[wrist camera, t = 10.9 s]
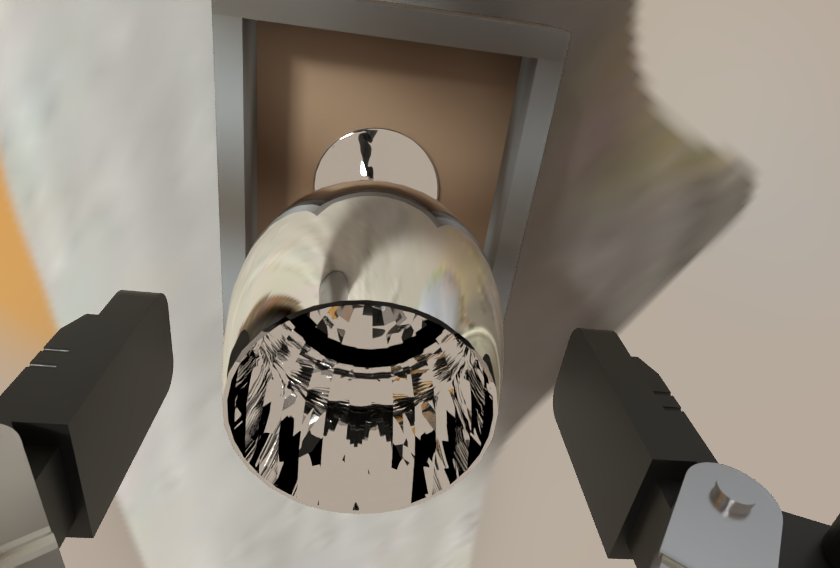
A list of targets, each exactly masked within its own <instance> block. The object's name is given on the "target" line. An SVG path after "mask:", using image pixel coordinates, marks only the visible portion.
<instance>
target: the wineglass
mask: <svg viewBox="0 0 840 568" xmlns="http://www.w3.org/2000/svg"><path fill="white" fill-rule="evenodd" d="M438 197H439V181H438V175H437V171H436V168H435V166H434V163H433V161H432V160H431V158H430V156H429V154H428V153H427V152H426V151H425V149H424V148H423V147H422V146H421V145H420V144H419V143H418V142H417V141H415V140H414V139H413V138H411V137H409V136H407V135H406V134H403V133H402V132H400V131H398V130H393V129H389V128H385V127H364V128H360V129H356V130H352V131H350V132H348V133H346V134H344V135H342V136H341V137H339V138H337V139H336V140H335V141H334V142H333V143H332V144H331V145H329V146H328V147H327V149H326V150H325V152H324V153H323V154H322V156H321V157H320V159H319V162H318V164H317V167H316V169H315V173H314V179H313V192H312V193H310V194H308V195H306V196H304V197H302V198H300V199H298V200H297V201H295V202H294V203H293V204H292V205H290V206H289V207H288V208H286V209H285V210H284V211H283V212H281V213H280V214H279V215H278V216H277V217H276V218H275V219H274V220H273V221H272V222H271V223H270V224H269V225H268V226H267V227H266V228H265V229H264V230H263V232H262V233H261V234H260V235H259V237H258V238H257V240H256V241H255V243H254V244H253V246H252V247H251V249H250V251H249V253H248V255H247V257H246V259H245V261H244V263H243V265H242V267H241V269H240V272H239V274H238V277H237V280H236V282H235V285H234V288H233V291H232V296H231V300H230V305H229V311H228V316H227V322H226V328H225V334H224V341H223V357H222V402H223V417H224V426H225V429H226V431H227V434H228V437H229V439H230V442H231V444H232V447H233V449H234V450H235V452H236V453H237V454H238V456H239V457H240V459H241V460H242V461H243V463H244V464H245V465H246V467H247V468H248V469H249V470H250V471H251V472H252V473H253V474H255V475H256V476H257V477H258V478H259V479H260V480H262V481H263V482H264V483H265V484H266V485H267V486H269V487H270V488H272V489H274V490H276V491H278V492H279V493H281V494H283V495H285V496H287V497H289V498H291V499H292V500H294V501H297V502H299V503H302V504H305V505H307V506H311V507H315V508H318V509H322V510H328V511H333V512H339V513H353V514H367V513H382V512H388V511H394V510H400V509H404V508H407V507H410V506H413V505H417V504H420V503H423V502H425V501H427V500H429V499H431V498H433V497H435V496H437V495H439V494H442V493H444V492H446V491H447V490H448V489H450V488H451V487H452V486H454V485H455V484H456V483H458V482H459V481H461V480H462V479H463V478H465V477H466V476H467V474H468V473H469V472H470V471H471V470H472V469H473V468H474V467H475V466H476V465H477V463H478V462H479V461H480V460H481V459H482V457H483V455H484V453H485V451H486V449H487V448H488V446H489V444H490V442H491V440H492V438H493V434H494V430H495V425H496V421H497V416H498V411H499V402H500V397H501V388H502V377H503V363H504V340H503V320H502V313H501V306H500V299H499V292H498V289H497V285H496V282H495V279H494V276H493V273H492V270H491V267H490V264H489V262H488V260H487V258H486V255H485V253H484V251H483V250H482V248H481V246H480V245H479V243H478V241H477V240H476V238H475V237H474V236H473V235H472V233H471V232H470V231H469V230H468V228H467V227H466V226H465V225H464V223H463V222H462V221H461V220H460V219H459V218H458V217H457V216H456V215H455V214H454V213H452V212H451V211H450V210H449V209H448V208H446V207H445V206H444V205H443V204H442V203H440V202H439V201H438Z"/></svg>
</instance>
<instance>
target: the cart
mask: <svg viewBox="0 0 840 568" xmlns="http://www.w3.org/2000/svg"><path fill="white" fill-rule="evenodd" d="M212 26H213V54H214V81H215V109H216V136H217V164H218V191H219V219H220V246H221V274H222V301H223V329H224V334H225V328H226V322H227V316H228V311H229V305H230V300H231V296H232V291H233V288H234V285H235V282H236V280H237V277H238V274H239V272H240V269H241V267H242V265H243V263H244V261H245V259H246V257H247V255H248V253H249V251H250V249H251V247H252V246H253V244H254V243H255V241H256V240H257V238H258V237H259V235H260V234H261V233H262V232H263V230H264V229H265V228H266V227H267V226H268V225H269V224H270V223H271V222H272V221H273V220H274V219H275V218H276V217H277V216H278V215H279V214H280V213H281V212H283V211H284V210H285V209H286V208H288V207H289V206H290V205H292V204H293V203H294V202H295V201H297V200H298V199H300V198H302V197H304V196H306V195H308V194H310V193H312V192H313V179H314V173H315V169H316V167H317V164H318V162H319V159H320V157H321V156H322V154H323V153H324V152H325V150H326V149H327V147H328V146H329V145H331V144H332V143H333V142H334V141H335V140H336V139H337V138H339V137H341V136H342V135H344V134H346V133H348V132H350V131H352V130H356V129H360V128H364V127H385V128H389V129H393V130H398V131H400V132H402V133H403V134H406V135H407V136H409V137H411V138H413V139H414V140H415V141H417V142H418V143H419V144H420V145H421V146H422V147H423V148H424V149H425V151H426V152H427V153H428V154H429V156H430V158H431V160H432V161H433V163H434V166H435V168H436V171H437V175H438V181H439V197H438V201H439V202H440V203H442V204H443V205H444V206H445V207H446V208H448V209H449V210H450V211H451V212H452V213H454V214H455V215H456V216H457V217H458V218H459V219H460V220H461V221H462V222H463V223H464V225H465V226H466V227H467V228H468V230H469V231H470V232H471V233H472V235H473V236H474V237H475V238H476V240H477V241H478V243H479V245H480V246H481V248H482V250H483V251H484V253H485V255H486V258H487V260H488V262H489V264H490V267H491V270H492V273H493V276H494V279H495V282H496V285H497V289H498V292H499V299H500V306H501V313H502V320H503V322H504V318H505V314H506V310H507V305H508V301H509V297H510V293H511V288H512V284H513V280H514V276H515V271H516V267H517V263H518V259H519V255H520V250H521V246H522V242H523V238H524V233H525V229H526V225H527V221H528V216H529V212H530V208H531V204H532V199H533V195H534V191H535V187H536V182H537V178H538V174H539V170H540V165H541V161H542V157H543V153H544V148H545V144H546V140H547V136H548V132H549V127H550V123H551V119H552V115H553V110H554V106H555V102H556V98H557V93H558V89H559V85H560V81H561V76H562V72H563V68H564V64H565V59H566V55H567V51H568V47H569V42H570V38H571V34H572V33H571V32H568V31H565V30H561V29H558V28H555V27H551V26H548V25H544V24H537V23H530V22H523V21H516V20H509V19H502V18H495V17H488V16H481V15H474V14H467V13H461V12H454V11H447V10H440V9H433V8H426V7H419V6H412V5H405V4H398V3H391V2H384V1H377V0H212Z"/></svg>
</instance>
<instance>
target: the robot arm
mask: <svg viewBox="0 0 840 568" xmlns="http://www.w3.org/2000/svg"><path fill="white" fill-rule="evenodd" d="M172 374H173V352H172V342H171V332H170V321H169V311H168V303H167V299H166V297H165V295H164V294H162V293H151V292H139V291H126V290H120V291H118V292H117V293H116V294H115V296H114V297H113V298H112V299H111V300H110V302H109V303H108V304H107V305H106V306H105V308H104V309H103V310H102V311H101V313H100V314H99V315H94V314H86V315H84V316H82V317H80V318H79V319H77V320H75V321H73V322H71V323H70V324H68V325H66V326H64V327H63V328H61V329H60V330H59V331H58V332H57V333H56V334H55V335H54V336H53V338H52V339H51V340H50V341H49V342H48V343H47V344H46V345H45V347H44V350H43V351H40V352H39V353H38V354H37V355H36V357H35V358H34V359H33V360H32V361H31V362H30V366H29V367H26V368H25V369H24V370H23V371H22V372H21V373H20V374H19V375H18V377H17V378H16V379H15V380H14V381H13V382H12V383H11V384H10V386H9V387H8V388H7V389H6V390H5V391H4V392H3V393H2V395H1V396H0V568H65V566H64V563H63V560H62V557H61V554H60V551H59V548H60V546H61V544H62V543H63V541H64V539H65V537H78V538H94V536H95V534H96V532H97V529H98V528H99V525H100V524H101V522H102V520H103V518H104V516H105V514H106V512H107V510H108V508H109V506H110V504H111V502H112V500H113V498H114V496H115V494H116V492H117V491H118V489H119V487H120V485H121V483H122V481H123V479H124V477H125V475H126V473H127V471H128V469H129V467H130V465H131V463H132V461H133V459H134V457H135V455H136V453H137V451H138V449H139V447H140V446H141V444H142V442H143V440H144V438H145V436H146V434H147V432H148V430H149V428H150V426H151V424H152V422H153V420H154V418H155V416H156V414H157V412H158V410H159V408H160V406H161V404H162V402H163V400H164V399H165V397H166V395H167V392H168V390H169V387H170V384H171V380H172ZM670 393H671V392H670V391H669V389H668V388H667V386H666V385H665V383H664V382H663V380H662V379H661V377H660V376H659V374H658V373H656V372H655V371H654V370H653V369H652V368H651V367H649V366H648V365H647V364H646V363H644V362H643V361H642V360H641V359H639V358H638V357H631V356H630V354H629V353H628V351H627V350H626V348H625V346H624V345H623V343H622V342H621V340H620V338H619V337H618V335H617V334H616V333H615V332H614V331H607V330H595V329H582V328H577V329H575V330H574V331H573V333H572V334H571V337H570V339H569V343H568V346H567V349H566V352H565V356H564V359H563V362H562V365H561V369H560V372H559V375H558V378H557V382H556V385H555V388H554V394H553V410H554V415H555V419H556V422H557V424H558V427H559V429H560V432H561V435H562V438H563V440H564V443H565V446H566V448H567V451H568V454H569V456H570V459H571V461H572V464H573V467H574V469H575V472H576V475H577V477H578V480H579V483H580V485H581V488H582V490H583V493H584V496H585V499H586V501H587V504H588V507H589V509H590V512H591V514H592V517H593V520H594V522H595V525H596V528H597V530H598V533H599V536H600V538H601V541H602V544H603V546H604V548H605V552H606V554H607V557H608V558H613V559H633V560H634V562H635V565H636V567H637V568H840V514H839V515H838V517H837V518H836V520H835V521H834V522H833V524H832V525H831V526H829V525H826V524H823V523H820V522H816V521H812V520H810V519H806V518H803V517H800V516H796V515H793V514H790V513H787V512H783V511H781V509H780V507H779V505H778V503H777V502H776V500H775V499H774V497H773V496H772V495H771V494H770V493H769V492H768V491H767V490H766V489H765V488H764V487H763V486H762V485H761V484H760V483H758V482H757V481H756V480H754V479H753V478H751V477H749V476H748V475H747V474H745V473H743V472H741V471H739V470H737V469H734V468H732V467H729V466H726V465H723V464H718V462H717V461H716V459H715V458H714V456H713V455H712V453H711V452H710V450H709V449H708V447H707V446H706V444H705V443H704V441H703V440H702V438H701V437H700V435H699V434H698V432H697V431H696V429H695V428H694V426H693V425H692V423H691V422H690V421H689V419H688V417H687V416H686V414H685V413H684V412H681V407H680V405H679V404H678V402H677V401H676V400H675V398H674V397H673V396H671V395H670Z"/></svg>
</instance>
